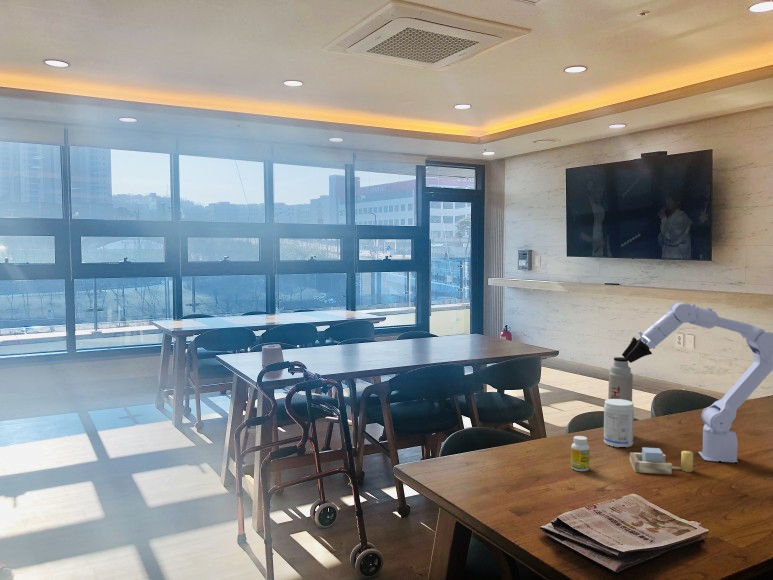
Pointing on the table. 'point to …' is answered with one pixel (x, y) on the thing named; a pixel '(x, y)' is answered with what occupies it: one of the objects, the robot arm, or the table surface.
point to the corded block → (657, 456)
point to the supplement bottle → (580, 454)
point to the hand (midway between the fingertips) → (625, 358)
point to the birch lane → (649, 465)
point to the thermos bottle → (620, 380)
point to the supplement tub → (618, 422)
